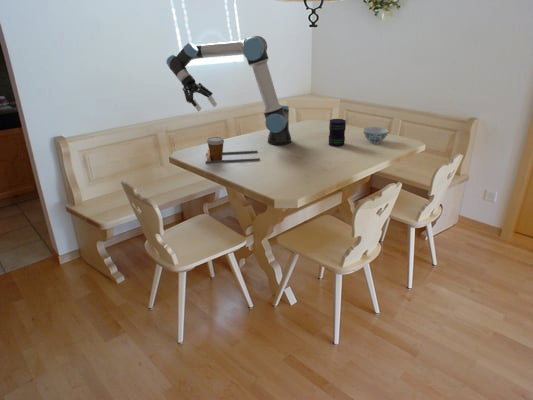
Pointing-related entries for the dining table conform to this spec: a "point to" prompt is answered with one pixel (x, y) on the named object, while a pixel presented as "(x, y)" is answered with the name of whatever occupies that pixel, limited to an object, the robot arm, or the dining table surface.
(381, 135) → the chinaware
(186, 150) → the dining table surface
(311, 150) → the dining table surface
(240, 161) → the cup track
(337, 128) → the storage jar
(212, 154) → the disposable coffee cup
